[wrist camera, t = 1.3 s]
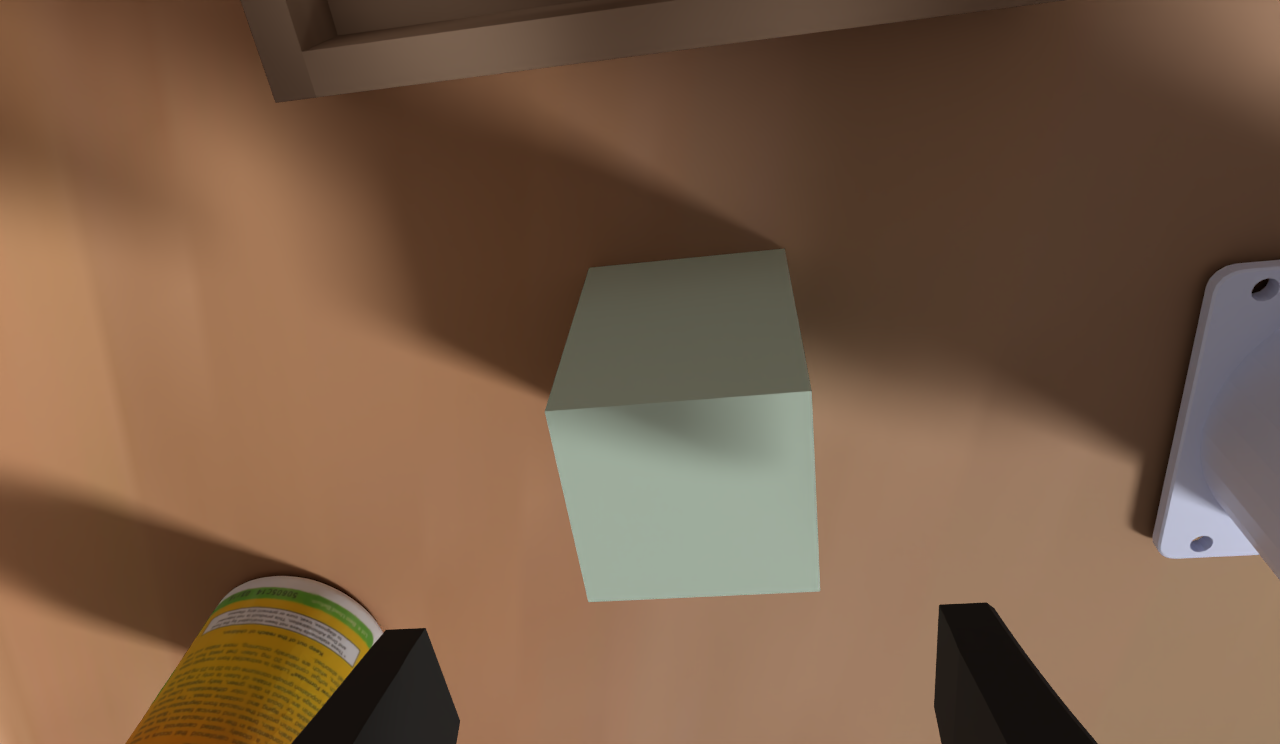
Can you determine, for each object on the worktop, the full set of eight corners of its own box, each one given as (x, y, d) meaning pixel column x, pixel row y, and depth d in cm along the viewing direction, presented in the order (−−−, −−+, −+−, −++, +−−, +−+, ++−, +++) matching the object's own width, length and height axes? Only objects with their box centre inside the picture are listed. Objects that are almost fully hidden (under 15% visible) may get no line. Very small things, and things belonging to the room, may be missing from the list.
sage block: (784, 247, 19) (811, 390, 14) (793, 414, 21) (820, 591, 16) (589, 267, 19) (544, 411, 14) (617, 426, 22) (588, 601, 16)
